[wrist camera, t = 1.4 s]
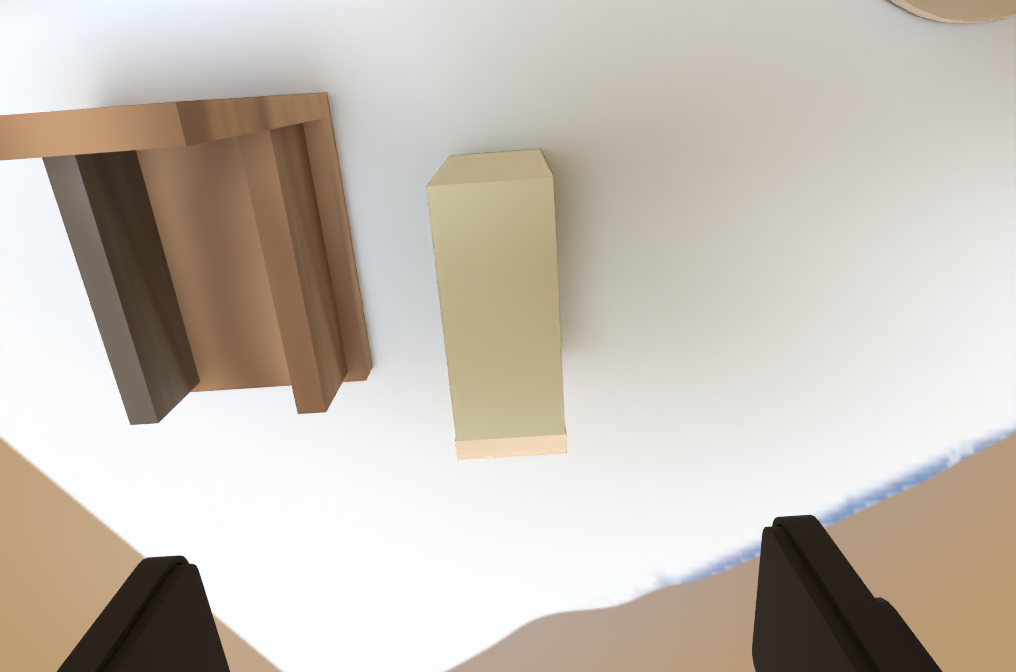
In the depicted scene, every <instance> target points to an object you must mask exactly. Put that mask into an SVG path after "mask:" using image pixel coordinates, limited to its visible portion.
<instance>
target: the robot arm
mask: <svg viewBox="0 0 1016 672" xmlns="http://www.w3.org/2000/svg"><path fill="white" fill-rule="evenodd" d="M890 1H891V2H893V3H894V4H896V5H898V6H900V7H902V8H904V9H905V10H907V11H909V12H911V13H913V14H915V15H917V16H920V17H924V18H928V19H932V20H936V21H940V22H944V23H980V22H987V21H995V20H1003V19H1007V18H1010V17H1014V16H1016V0H890ZM752 656H753V662H754V667H755V671H756V672H942V671H941V669H940V668H939V667H938V665H937V664H936V663H935V661H934V660H933V659H932V657H931V656H930V655H929V653H928V652H927V651H926V650H925V648H924V647H923V645H922V644H921V643H920V641H919V640H918V639H917V638H916V636H915V635H914V633H913V632H912V631H911V629H910V628H909V627H908V625H907V624H906V623H905V621H904V620H903V619H902V617H901V616H900V615H899V613H898V612H897V611H896V609H895V608H894V607H893V606H892V605H891V604H890V603H889V602H888V601H886V600H884V599H883V598H874V596H873V595H872V594H871V592H870V591H869V590H868V588H867V587H866V585H865V584H864V583H863V581H862V580H861V578H860V577H859V576H858V574H857V573H856V572H855V570H854V569H853V568H852V566H851V565H850V563H849V562H848V561H847V559H846V558H845V556H844V555H843V554H842V552H841V551H840V550H839V548H838V547H837V545H836V544H835V543H834V541H833V540H832V539H831V537H830V536H829V535H828V533H827V532H826V530H825V529H824V528H823V526H822V525H821V523H820V522H819V521H818V520H817V519H816V517H815V516H812V515H800V516H785V517H777V518H775V519H774V521H773V525H772V527H765V528H764V529H763V533H762V543H761V554H760V565H759V577H758V589H757V599H756V611H755V622H754V633H753V645H752ZM57 672H230V670H229V667H228V664H227V660H226V657H225V654H224V651H223V647H222V644H221V641H220V638H219V635H218V632H217V628H216V625H215V622H214V618H213V615H212V612H211V609H210V606H209V602H208V599H207V596H206V593H205V589H204V586H203V583H202V580H201V577H200V573H199V570H198V568H197V566H196V565H194V564H189V563H188V561H187V559H186V558H185V557H184V556H165V557H149V558H146V559H143V560H142V561H141V562H140V563H139V564H138V566H137V567H136V568H135V569H134V571H133V572H132V573H131V575H130V576H129V577H128V578H127V580H126V581H125V583H124V584H123V585H122V587H121V588H120V589H119V590H118V592H117V593H116V594H115V596H114V597H113V598H112V600H111V601H110V602H109V604H108V605H107V606H106V607H105V609H104V610H103V612H102V613H101V614H100V615H99V617H98V618H97V619H96V621H95V622H94V623H93V624H92V626H91V627H90V629H89V630H88V631H87V632H86V634H85V635H84V636H83V638H82V639H81V640H80V642H79V643H78V644H77V646H76V647H75V648H74V650H73V651H72V652H71V653H70V655H69V656H68V657H67V659H66V660H65V661H64V663H63V664H62V665H61V667H60V668H59V669H58V671H57Z"/></svg>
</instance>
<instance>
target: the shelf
mask: <svg viewBox="0 0 1016 672" xmlns="http://www.w3.org/2000/svg"><path fill="white" fill-rule="evenodd" d="M39 157H42V159H43V162H44V165H45V168H46V171H47V174H48V177H49V180H50V183H51V186H52V189H53V192H54V195H55V198H56V201H57V204H58V207H59V210H60V213H61V216H62V219H63V222H64V225H65V228H66V231H67V234H68V237H69V240H70V243H71V246H72V249H73V252H74V256H75V259H76V262H77V265H78V268H79V271H80V274H81V277H82V280H83V283H84V286H85V289H86V292H87V295H88V298H89V301H90V304H91V307H92V310H93V313H94V316H95V319H96V322H97V325H98V328H99V331H100V334H101V337H102V340H103V343H104V346H105V349H106V352H107V355H108V358H109V361H110V364H111V367H112V370H113V373H114V376H115V379H116V383H117V386H118V389H119V392H120V395H121V398H122V401H123V404H124V407H125V410H126V413H127V416H128V419H129V422H130V425H137V424H152V423H159V422H160V421H161V420H162V419H163V418H164V417H165V416H166V415H167V414H168V413H169V412H170V411H171V410H172V409H173V408H174V407H175V406H176V405H177V404H178V403H179V402H180V401H181V400H182V399H183V398H184V397H185V396H186V395H187V394H188V393H189V392H199V391H214V390H229V389H244V388H259V387H274V386H289V385H292V389H293V394H294V398H295V403H296V407H297V412H298V414H305V413H320V412H326V411H327V410H328V408H329V406H330V404H331V402H332V400H333V399H334V397H335V395H336V393H337V391H338V389H339V388H340V386H341V384H342V382H350V381H365V380H367V377H368V375H369V373H370V371H371V369H372V363H371V357H370V351H369V345H368V339H367V333H366V327H365V321H364V315H363V309H362V303H361V297H360V291H359V285H358V279H357V273H356V267H355V261H354V255H353V248H352V242H351V236H350V230H349V224H348V218H347V212H346V206H345V200H344V194H343V188H342V182H341V176H340V170H339V164H338V158H337V152H336V146H335V140H334V134H333V128H332V122H331V116H330V110H329V104H328V98H327V92H325V93H309V94H293V95H277V96H261V97H245V98H229V99H213V100H197V101H181V102H167V103H154V104H142V105H129V106H116V107H103V108H91V109H78V110H65V111H52V112H39V113H27V114H14V115H1V116H0V160H12V159H26V158H39Z"/></svg>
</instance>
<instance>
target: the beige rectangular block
mask: <svg viewBox="0 0 1016 672" xmlns="http://www.w3.org/2000/svg"><path fill="white" fill-rule="evenodd" d="M426 188H427V196H428V205H429V213H430V222H431V230H432V239H433V247H434V256H435V264H436V273H437V281H438V290H439V298H440V307H441V315H442V324H443V332H444V341H445V349H446V358H447V366H448V375H449V383H450V392H451V400H452V409H453V417H454V426H455V434H456V438H455V446H456V454H457V460H465V459H481V458H497V457H512V456H528V455H544V454H560V453H567V435H566V429H565V421H564V399H563V377H562V355H561V333H560V311H559V289H558V267H557V245H556V223H555V201H554V179H553V175H552V173H551V171H550V169H549V167H548V165H547V163H546V161H545V159H544V157H543V155H542V153H541V150H540V149H532V150H518V151H505V152H492V153H478V154H465V155H452V156H449V158H448V159H447V160H446V161H445V163H444V164H443V165H442V167H441V168H440V169H439V171H438V172H437V173H436V174H435V176H434V177H433V178H432V180H431V181H430V182H429V184H428V185H427V186H426Z"/></svg>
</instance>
